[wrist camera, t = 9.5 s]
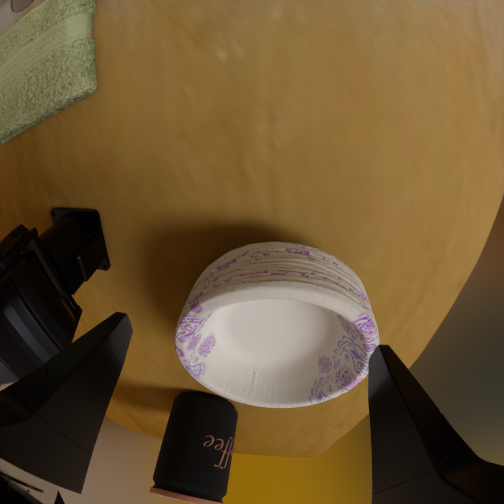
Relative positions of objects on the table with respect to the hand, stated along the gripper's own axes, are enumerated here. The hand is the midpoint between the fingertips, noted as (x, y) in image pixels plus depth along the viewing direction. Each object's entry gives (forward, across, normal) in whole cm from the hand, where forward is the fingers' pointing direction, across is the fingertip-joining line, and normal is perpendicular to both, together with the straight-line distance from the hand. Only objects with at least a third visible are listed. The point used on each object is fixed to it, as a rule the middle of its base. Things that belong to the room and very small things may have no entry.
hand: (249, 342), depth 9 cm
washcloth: (+13, +23, -13) cm, 29 cm away
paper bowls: (+13, -2, +10) cm, 16 cm away
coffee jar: (+13, +7, +35) cm, 38 cm away
